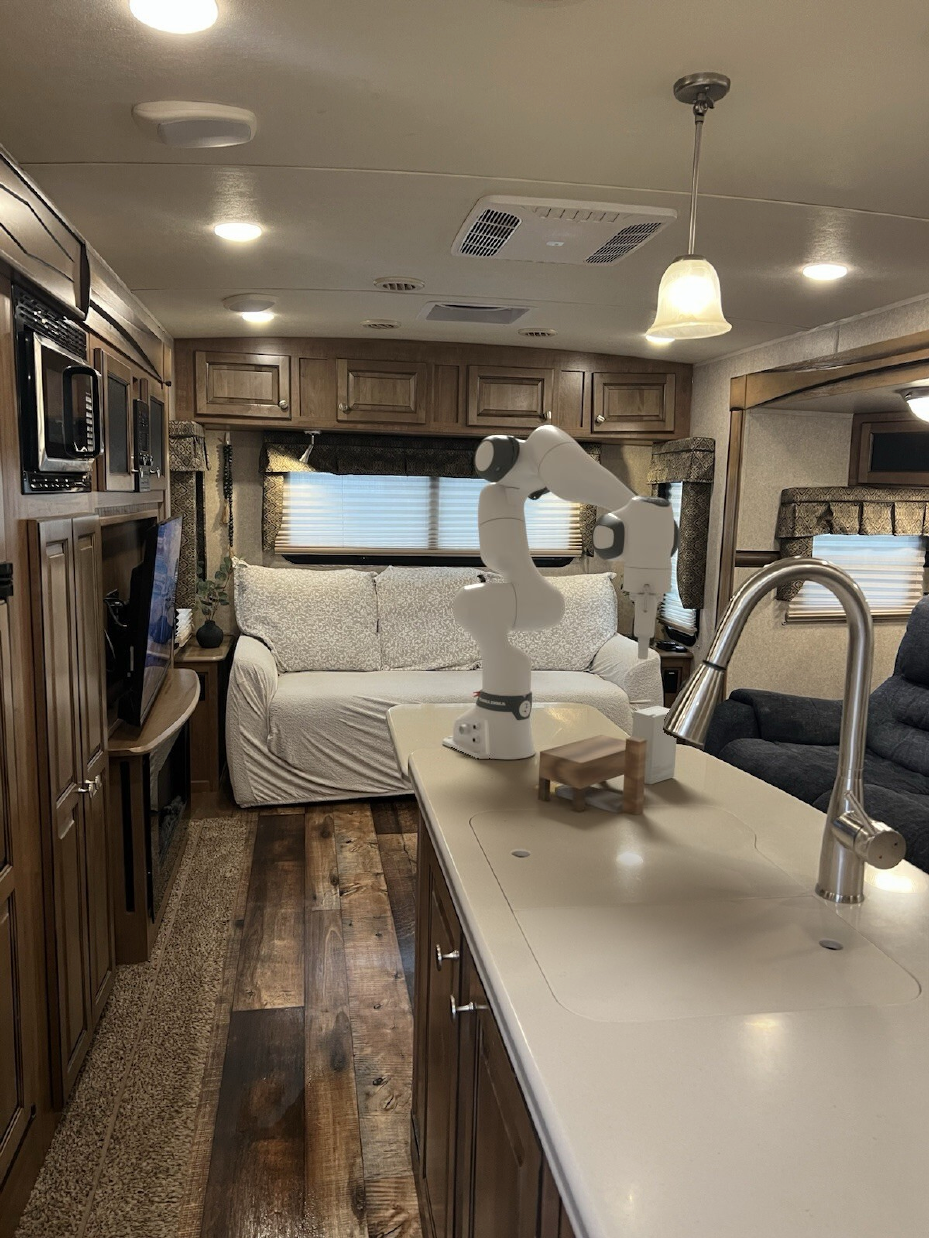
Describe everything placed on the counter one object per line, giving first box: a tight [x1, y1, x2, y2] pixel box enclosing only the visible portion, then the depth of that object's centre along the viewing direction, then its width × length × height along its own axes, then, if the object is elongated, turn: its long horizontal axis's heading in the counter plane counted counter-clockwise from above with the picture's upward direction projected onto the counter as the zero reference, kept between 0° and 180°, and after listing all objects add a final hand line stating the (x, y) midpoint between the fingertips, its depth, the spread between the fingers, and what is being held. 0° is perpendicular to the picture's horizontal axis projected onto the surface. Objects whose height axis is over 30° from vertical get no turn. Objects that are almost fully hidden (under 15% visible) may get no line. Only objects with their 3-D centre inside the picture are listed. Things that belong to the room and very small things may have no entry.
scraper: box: [554, 736, 647, 816], centre depth 177 cm, size 18×6×14 cm, turn 48°
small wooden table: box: [537, 734, 626, 813], centre depth 181 cm, size 10×20×10 cm, turn 135°
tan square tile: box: [534, 781, 562, 796], centre depth 185 cm, size 5×5×1 cm
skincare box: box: [631, 705, 677, 785], centre depth 193 cm, size 8×6×15 cm
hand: (643, 654), depth 175 cm, fingers open, 8 cm apart
